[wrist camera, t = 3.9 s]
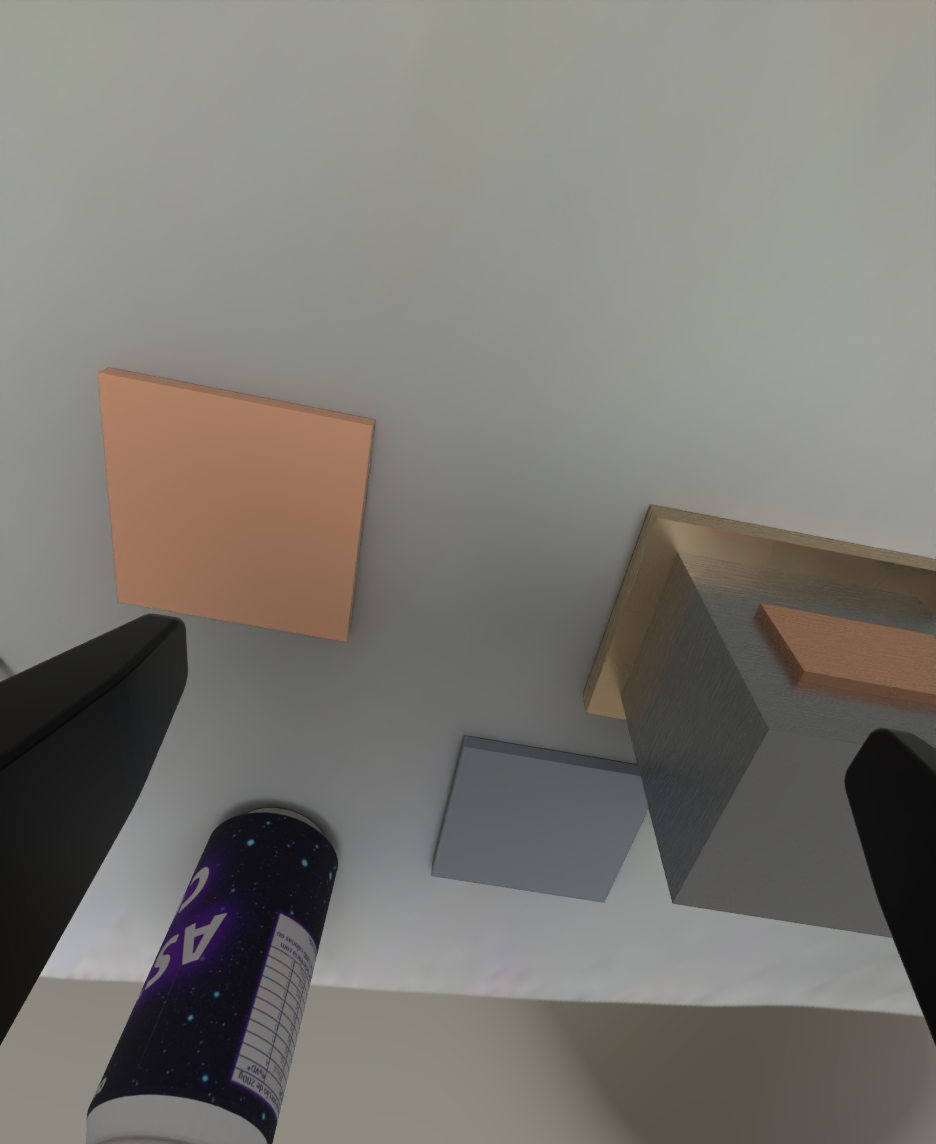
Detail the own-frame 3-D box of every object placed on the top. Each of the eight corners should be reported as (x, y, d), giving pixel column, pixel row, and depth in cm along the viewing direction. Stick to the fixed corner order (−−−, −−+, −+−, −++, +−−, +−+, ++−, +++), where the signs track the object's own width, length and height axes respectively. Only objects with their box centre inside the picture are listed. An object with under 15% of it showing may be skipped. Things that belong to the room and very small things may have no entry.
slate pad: (658, 768, 27) (662, 779, 26) (602, 890, 31) (604, 902, 30) (464, 735, 26) (463, 746, 26) (432, 864, 30) (431, 875, 30)
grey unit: (944, 561, 22) (1197, 765, 14) (833, 738, 26) (982, 976, 18) (650, 504, 21) (741, 684, 13) (582, 695, 25) (622, 921, 17)
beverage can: (264, 775, 28) (125, 1122, 17) (367, 841, 30) (298, 1192, 19) (191, 837, 30) (28, 1180, 19) (291, 896, 32) (191, 1237, 21)
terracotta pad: (375, 419, 20) (372, 425, 20) (349, 632, 24) (346, 642, 23) (108, 367, 20) (98, 372, 19) (126, 593, 24) (117, 602, 23)
